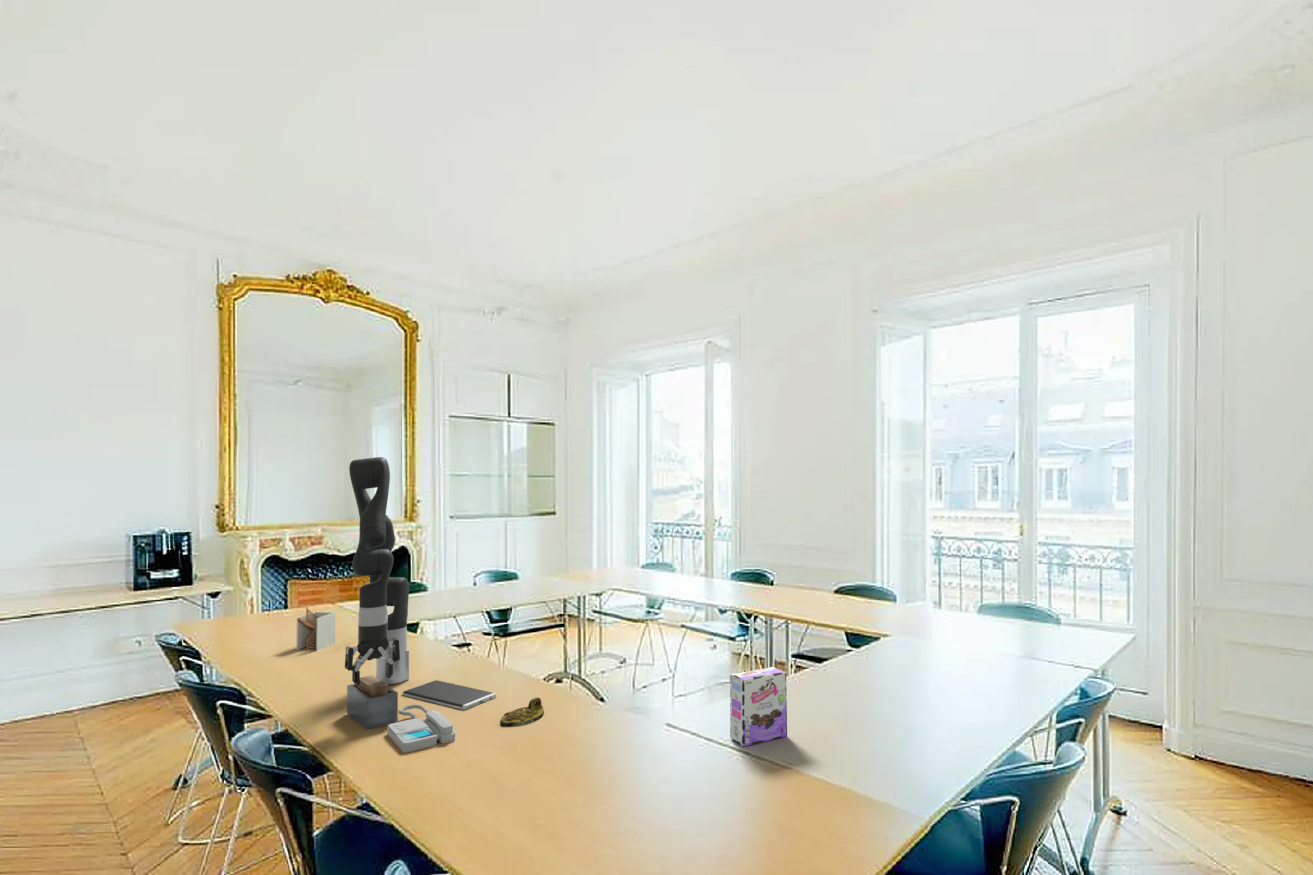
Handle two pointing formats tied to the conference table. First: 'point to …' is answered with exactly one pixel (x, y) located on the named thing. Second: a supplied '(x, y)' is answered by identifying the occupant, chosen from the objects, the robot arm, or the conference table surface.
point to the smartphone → (449, 694)
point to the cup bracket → (372, 707)
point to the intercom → (420, 730)
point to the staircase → (315, 630)
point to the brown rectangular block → (372, 686)
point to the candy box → (758, 706)
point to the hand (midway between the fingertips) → (372, 680)
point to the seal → (524, 714)
